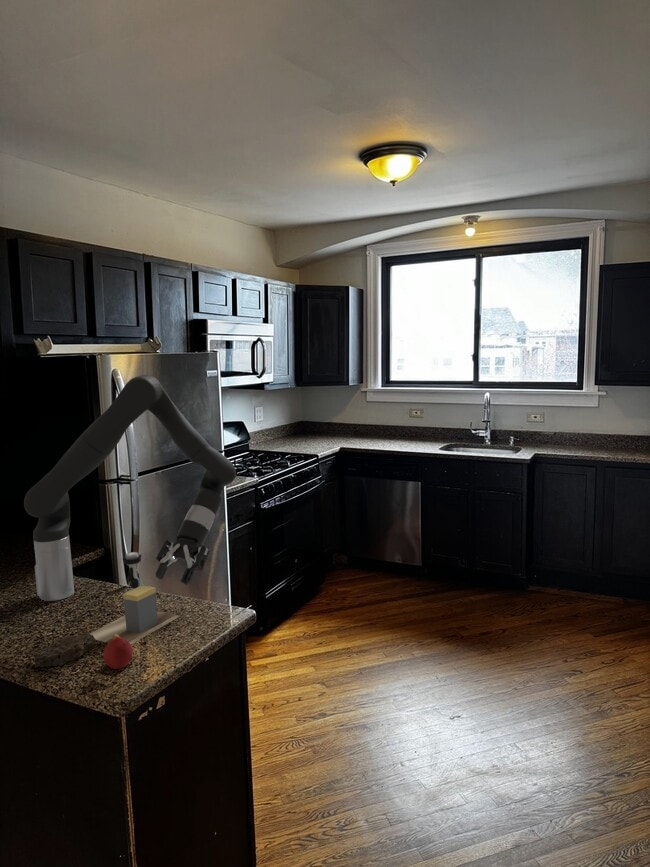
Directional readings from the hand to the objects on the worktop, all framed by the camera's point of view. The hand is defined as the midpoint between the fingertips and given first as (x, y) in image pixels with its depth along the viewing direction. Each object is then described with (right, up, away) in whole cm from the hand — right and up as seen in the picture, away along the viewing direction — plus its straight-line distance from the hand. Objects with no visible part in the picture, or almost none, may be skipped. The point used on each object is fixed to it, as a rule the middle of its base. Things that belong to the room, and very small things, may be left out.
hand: (170, 580), depth 153 cm
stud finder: (-4, -9, -10) cm, 14 cm away
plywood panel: (-7, -10, -9) cm, 15 cm away
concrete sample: (-18, -12, -22) cm, 30 cm away
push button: (-17, -8, +24) cm, 30 cm away
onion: (-3, -12, -28) cm, 31 cm away
